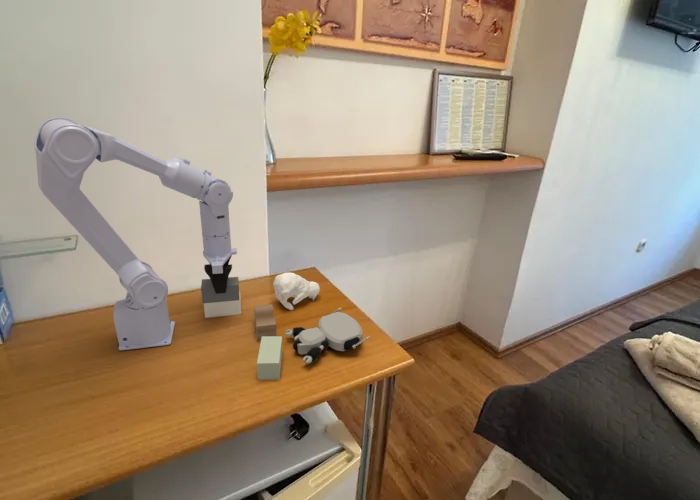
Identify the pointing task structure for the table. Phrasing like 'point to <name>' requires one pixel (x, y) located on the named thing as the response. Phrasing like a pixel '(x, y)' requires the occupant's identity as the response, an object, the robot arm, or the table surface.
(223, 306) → the off-white brick
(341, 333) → the robot toy
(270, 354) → the sage brick
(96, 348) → the table surface
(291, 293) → the white animal figurine
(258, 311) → the walnut brick
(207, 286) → the charcoal brick
